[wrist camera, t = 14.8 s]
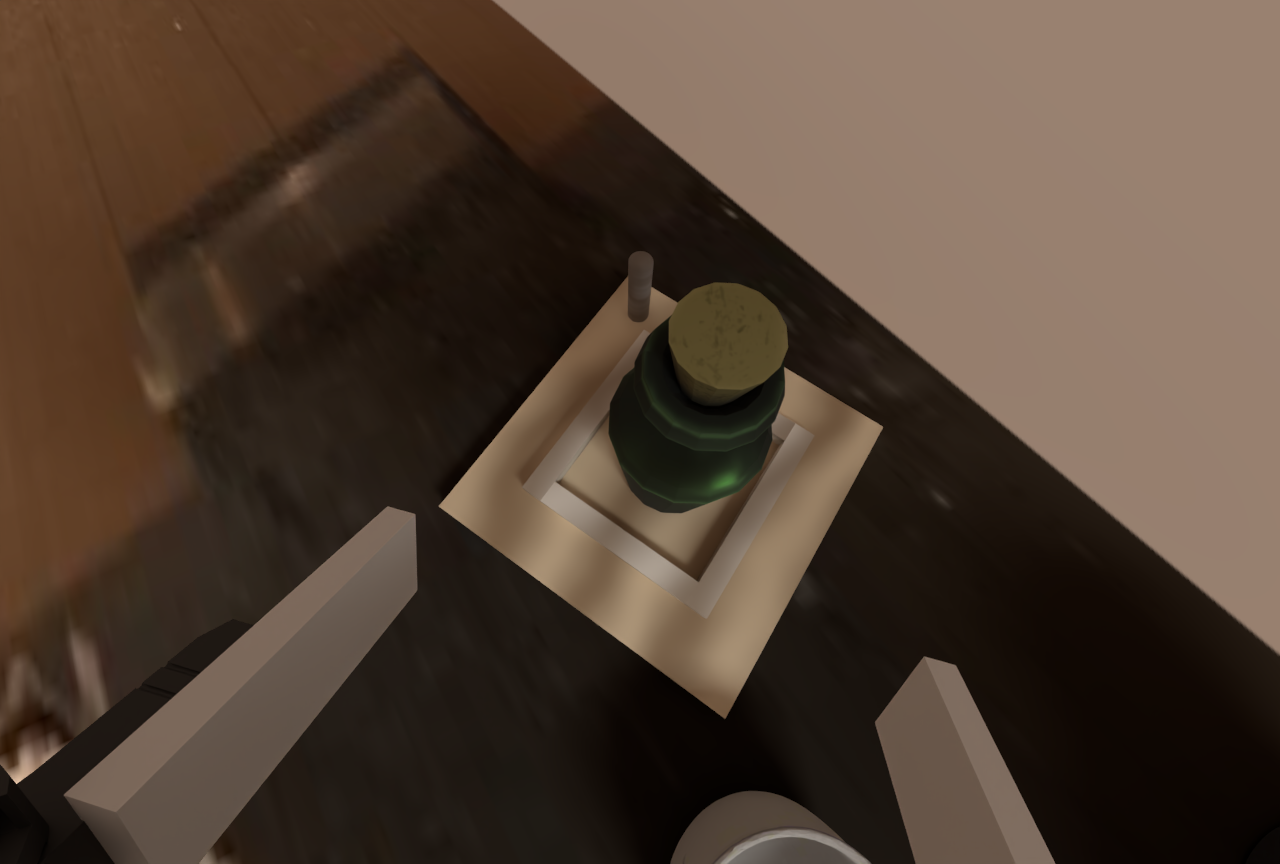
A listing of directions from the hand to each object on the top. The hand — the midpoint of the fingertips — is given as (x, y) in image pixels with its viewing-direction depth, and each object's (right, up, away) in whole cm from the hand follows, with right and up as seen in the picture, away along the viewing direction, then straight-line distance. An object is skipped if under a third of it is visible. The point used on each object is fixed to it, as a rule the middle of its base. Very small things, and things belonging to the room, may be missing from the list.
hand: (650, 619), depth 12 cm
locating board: (+2, +2, +21) cm, 21 cm away
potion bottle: (+2, +2, +20) cm, 20 cm away
